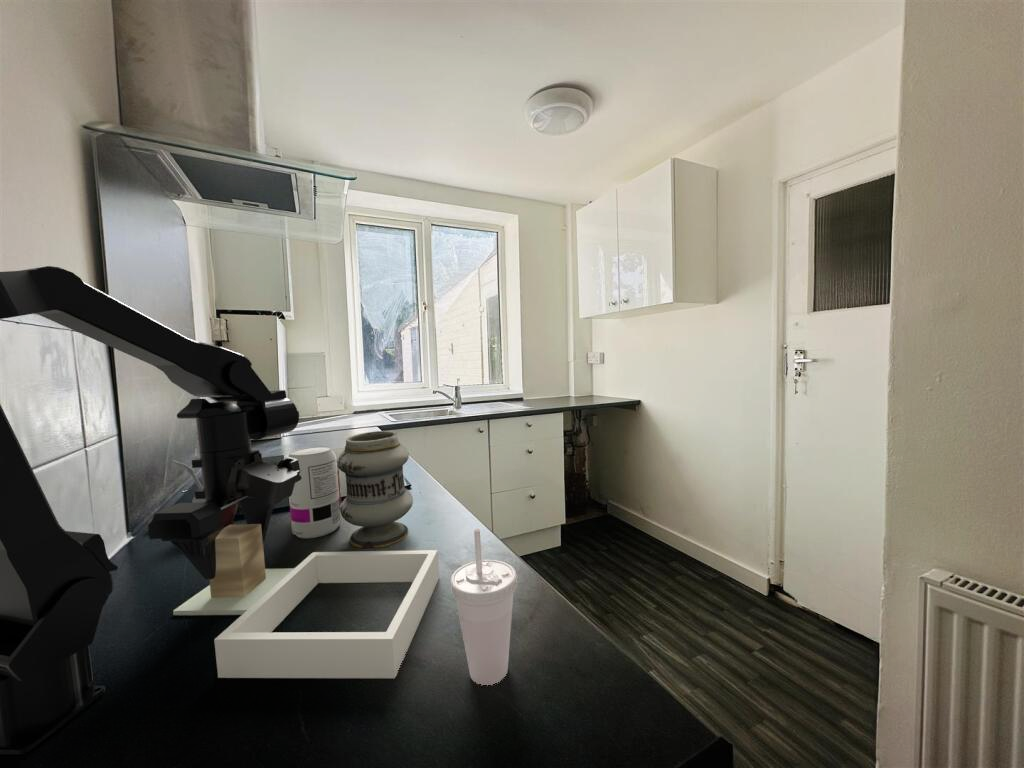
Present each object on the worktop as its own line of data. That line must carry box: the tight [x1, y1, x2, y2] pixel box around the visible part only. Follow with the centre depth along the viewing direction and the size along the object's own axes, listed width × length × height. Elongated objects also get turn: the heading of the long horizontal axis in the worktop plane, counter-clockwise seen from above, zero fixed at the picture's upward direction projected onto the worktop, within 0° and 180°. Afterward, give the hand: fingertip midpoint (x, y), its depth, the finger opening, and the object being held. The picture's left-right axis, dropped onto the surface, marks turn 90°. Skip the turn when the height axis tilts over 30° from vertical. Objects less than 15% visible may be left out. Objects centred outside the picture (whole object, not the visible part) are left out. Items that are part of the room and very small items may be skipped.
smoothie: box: [450, 528, 518, 687], centre depth 40 cm, size 6×6×14 cm
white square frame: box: [213, 549, 440, 679], centre depth 49 cm, size 18×18×4 cm
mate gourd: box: [170, 459, 239, 529], centre depth 77 cm, size 8×8×15 cm
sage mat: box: [173, 567, 296, 616], centre depth 57 cm, size 10×10×1 cm
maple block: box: [208, 523, 266, 598], centre depth 56 cm, size 4×4×8 cm
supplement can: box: [288, 445, 342, 539], centre depth 76 cm, size 8×8×15 cm
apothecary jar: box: [337, 430, 414, 549], centre depth 72 cm, size 12×12×18 cm
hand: (236, 560), depth 56 cm, fingers open, 9 cm apart
